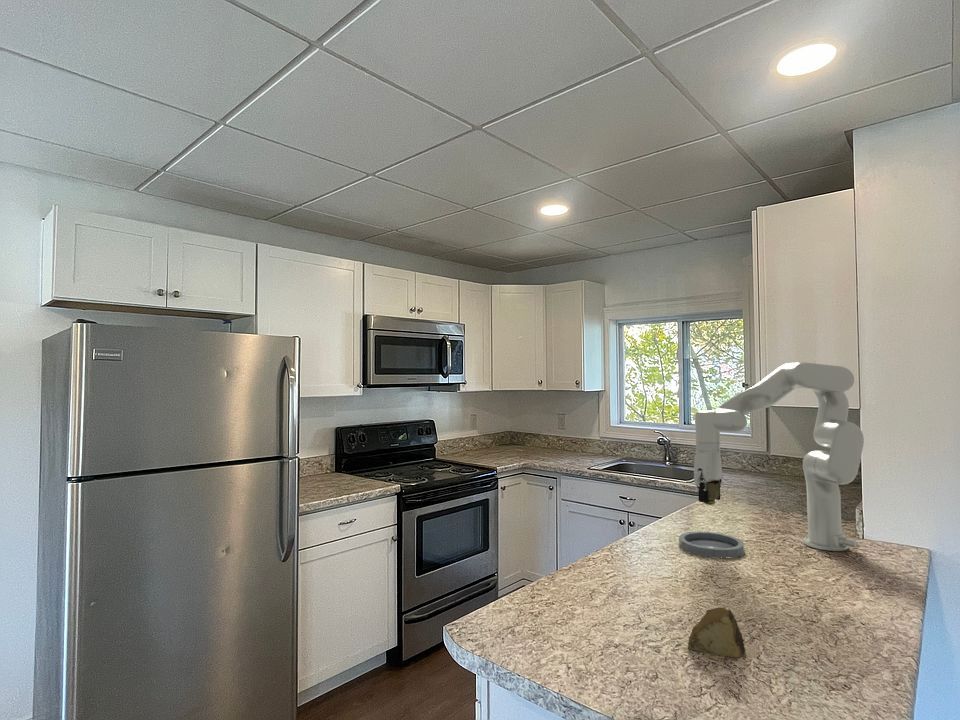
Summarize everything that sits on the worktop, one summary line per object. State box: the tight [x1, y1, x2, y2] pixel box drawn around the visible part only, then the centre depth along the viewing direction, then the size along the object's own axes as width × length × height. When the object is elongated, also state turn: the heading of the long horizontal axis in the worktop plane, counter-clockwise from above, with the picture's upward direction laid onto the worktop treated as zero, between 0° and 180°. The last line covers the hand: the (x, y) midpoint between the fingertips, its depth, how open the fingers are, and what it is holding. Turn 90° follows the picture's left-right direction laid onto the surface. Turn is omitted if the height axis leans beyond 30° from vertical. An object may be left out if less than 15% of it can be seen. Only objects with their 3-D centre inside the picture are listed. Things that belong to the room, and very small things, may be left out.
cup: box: [701, 480, 722, 506], centre depth 176 cm, size 8×7×8 cm
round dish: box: [678, 531, 746, 559], centre depth 174 cm, size 20×20×3 cm
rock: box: [687, 607, 747, 659], centre depth 110 cm, size 11×9×10 cm
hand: (709, 500), depth 176 cm, fingers closed on cup, 6 cm apart
